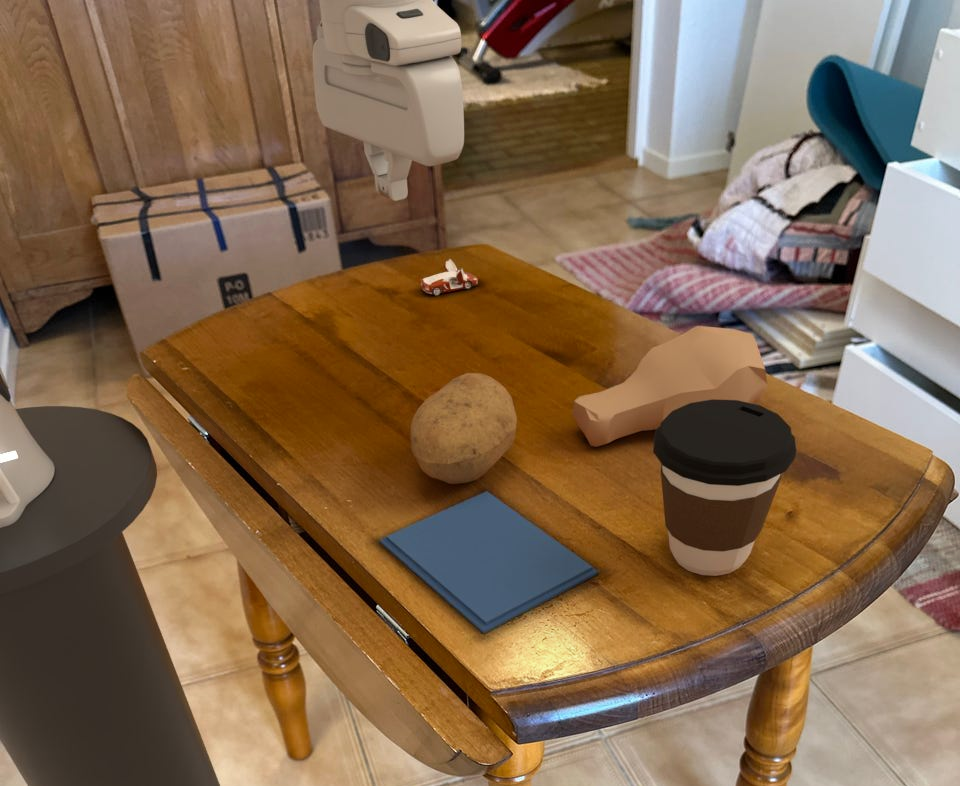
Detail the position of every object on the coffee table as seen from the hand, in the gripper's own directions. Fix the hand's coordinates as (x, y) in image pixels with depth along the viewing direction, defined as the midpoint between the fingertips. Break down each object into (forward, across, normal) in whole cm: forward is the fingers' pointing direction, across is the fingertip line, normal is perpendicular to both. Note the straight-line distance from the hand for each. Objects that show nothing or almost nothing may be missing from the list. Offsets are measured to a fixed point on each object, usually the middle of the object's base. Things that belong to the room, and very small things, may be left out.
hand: (392, 196), depth 88 cm
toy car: (+22, -25, +22) cm, 39 cm away
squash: (+22, +21, +18) cm, 35 cm away
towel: (+22, +28, -10) cm, 36 cm away
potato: (+22, +15, -3) cm, 27 cm away
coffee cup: (+22, +39, +5) cm, 45 cm away
